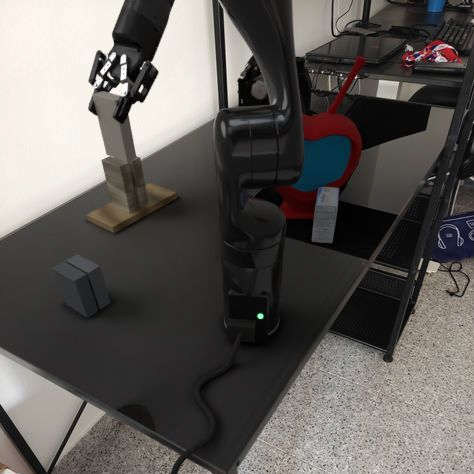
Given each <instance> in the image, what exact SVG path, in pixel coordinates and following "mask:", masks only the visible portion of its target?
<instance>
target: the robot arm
mask: <svg viewBox="0 0 474 474" xmlns="http://www.w3.org/2000/svg"><path fill="white" fill-rule="evenodd" d="M175 1H176V0H124V1H123V3H122V6H121V8H120V10H119V14H118V16H117V19H116V22H115V24H114V26H113V29H112V31H111V38H112V41H113V46H112V47H111V49H110V50H109V52H108V53H105V52H103V51H102V50H101V49H98V50H97V51H96V53H95V55H94V58H93V62H92V66H91V70H90V73H89V76H88V83H89V84H90V86H92V87H93V93H92V94H95V93H98V92H101V91H105V92H108V93H111V91H112V90H113V89H116V88H117V87H118V86H119V85H121V95H120V98H119V101H118V103H117V106H116V108H115V110H114V113H113V119H115V120H116V121H117V122H118V123H121V124H123V123H124V122H125V120H126V119H127V117H128V115H130V112H131V109H132V106H133V105H135V104H136V103H137V102H139V103H140V104H143V103H144V102H145V100H146V99H147V97H148V96H149V93H150V91H151V90H152V87H153V86H154V83H155V81H156V80H157V78H158V76H159V70H158V69H157V68H156V66H155V65H154V64H153V63H152V62H153V61H154V58H155V56H156V53H157V51H158V48H159V46H160V43H161V42H162V38H163V36H164V35H165V34H164V33H165V31H166V28H167V26H168V24H169V19H170V16H171V12H172V9H173V7H174V4H175ZM217 1H218V2H219V4H220V6H221V8H222V9H223V11H224V13H225V14H226V16H227V17H228V19H229V20H230V22H231V23H232V25H233V27H234V28H235V29H236V31H237V32H238V33H239V35H240V37H241V38H242V40H243V41H244V42H245V44H246V45H247V47H248V49H249V50H250V52H251V54H252V55H253V56H254V58H255V59H256V61H257V64H258V66H259V68H260V70H261V73H262V75H263V78H264V81H265V85H266V88H267V92H268V96H269V101H270V105H260V106H245V107H239V106H233V107H225V108H222V109H220V110H218V112H217V113H216V115H215V118H214V121H213V127H212V143H213V145H212V146H213V157H214V167H215V175H216V184H217V196H218V216H219V217H218V219H219V239H220V263H221V265H220V266H221V284H222V302H223V303H222V304H223V305H222V306H223V325H224V329H225V330H226V340H227V341H233V342H234V343H233V346H232V349H231V351H230V354H229V356H228V357H229V358H228V360H227V361H226V363H225V364H224V365H223V366H221V367H220V368H218V369H217V370H215V371H213V372H210V373H208V374H206V375H204V376H203V377H201V378H200V379H199V380H198V381H197V382H196V384H195V386H194V390H193V396H194V399H195V401H196V402H197V404H198V406H199V407H200V408H201V410H202V411H203V412H204V413H205V414H206V416H207V418H208V420H209V423H210V424H209V425H210V426H209V430H208V433H207V434H206V435H205V437H203V438H202V439H201V440H200V441H198V442H196V443H195V444H193V445H191V446H190V447H189V448H187V449H186V450H184V451H183V452H182V453H181V454H180V455H179V456H178V457H177V459H176V460H175V462H174V464H173V466H172V468H171V470H170V473H169V474H178V473H179V470H180V468H181V467H182V465H183V464H184V463H185V462H186V460H188V459H189V458H190V456H192V455H193V454H195V453H196V452H198V451H199V450H201V449H203V448H204V447H205V446H206V445H208V444H209V443H210V442H211V441H212V439H213V438H214V436H215V434H216V432H217V427H218V426H217V424H218V423H217V419H216V416H215V415H214V413H213V411H212V410H211V409H210V407H209V405H207V404H206V403H205V401H204V400H203V398H202V396H201V389H202V387H203V386H204V384H206V383H207V382H210V380H213V379H216V378H217V377H220V376H221V375H223V374H225V372H227V371H228V370H229V369H230V368H231V367H232V365H233V364H234V362H235V360H236V356H237V353H238V352H239V348H240V345H241V343H242V342H244V343H255V342H260V343H268V340H269V338H271V337H272V336H273V335H274V334H276V332H277V331H278V329H279V327H280V310H281V296H282V295H281V293H282V280H283V267H284V253H285V242H286V228H287V219H286V218H285V214H284V212H283V211H282V210H281V209H280V206H278V205H277V204H275V203H274V202H271V201H268V200H266V199H263V198H259V197H256V196H253V195H251V194H249V193H247V192H245V191H249V190H250V191H253V190H263V189H275V188H274V187H285V186H291V185H294V184H296V183H297V182H298V181H299V179H300V177H301V175H302V171H303V167H304V156H305V144H304V128H303V118H302V108H301V100H300V91H299V82H298V74H297V65H296V45H295V36H294V35H295V33H294V31H295V30H294V13H293V12H294V11H293V10H294V9H293V8H294V7H293V0H217ZM108 74H109V75H108ZM97 76H98V78H97ZM106 82H107V83H106ZM105 83H106V85H105ZM141 87H142V89H141ZM140 89H141V91H140ZM121 96H123V97H121ZM87 107H88V108H87V110H88V112H89V113H91V114H93V115H94V116H96V117H98V116H97V112H96V108H95V104H94V100H93V95H91V98H90V100H89V103H88V106H87Z"/></svg>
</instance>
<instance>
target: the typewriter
mask: <svg viewBox="0 0 474 474" xmlns="http://www.w3.org/2000/svg"><path fill="white" fill-rule="evenodd" d="M296 65H297V74H298V82H299V91H300V100H301V108H302V113H303V114H305V115H307V116H315V115H318V114H319V113H318V112H316V111H314V110H311V104H312V103H311V102H312V90H313V82H312V79H311V75H310V73H309V71H308V70H309V69H308V67H305V66H306V58H305V57H304V56H298V55H297V56H296ZM244 66H245V67H244V69H243V71H241V72H240V74H239V77H238V78H237V80H236V82H237V91H236V92H237V95H238V96H237V97H238V100H237V102H238V107H245V106H260V105H270V101H269V96H268V92H267V88H266V85H265V81H264V78H263V75H262V73H261V70H260V68H259V66H258V64H257V61H256V59H255V58H254V56H253V54H252V55H251V56H250V58H249V59H248V61H247V62H246V64H244Z"/></svg>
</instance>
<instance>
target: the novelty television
mask: <svg viewBox="0 0 474 474" xmlns="http://www.w3.org/2000/svg"><path fill="white" fill-rule="evenodd" d="M366 63H367V59H366V58H364V57H363V56H361V55H357V57H356V58H355V61H354V64H353V66H352V68H351V70H350V72H349V74H348V76H347V77H346V79H345V80H344V83H343V84H342V86H341V88H340V89H339V91H338V93H337V95H336V97H335V99H334V100H333V102H332V103H331V105H330V106H329V107H328V110H327V111H325V112H321V113H318V115H315V116H307V115H305V114H303V113H302V118H303V128H304V144H305V156H304V167H303V171H302V175H301V177H300V179H299V181H298V182H297V183H296V184H294V185H291V186H285V187H274V188H273V189H275V191H276V192H277V193H278V194H279V195H280V196H281V197H282V198H283V201H282V203H280V205H279V208H280V209H281V210H282V211H283V212H284V214H285V218H286V220H314V213H315V206H316V201H317V195H318V189H319V187H333V188H339V189H340V188H341V187H342V186H343V185H344V184H346V182H348V180H349V179H350V178H351V176H352V175H353V173H354V172H355V170H356V169H357V166H358V164H359V162H360V159H361V157H362V151H363V140H362V136H361V133H360V132H359V130H358V127H357V126H356V124H355V123H354V122H353V121H352V120H351V119H350V118H349V117H347V116H346V115H344V114H341V113H340V112H337V111H338V109H339V107H340V105H341V103H342V102H343V100H344V98H345V96H346V95H347V93H348V91H349V90H350V88H351V86H352V84H353V83H354V81H355V79H356V77H357V76H358V75H359V73H360V71H361V70H362V68H363V67H364V66H365V65H366Z"/></svg>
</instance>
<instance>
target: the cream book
mask: <svg viewBox="0 0 474 474" xmlns="http://www.w3.org/2000/svg"><path fill="white" fill-rule="evenodd" d="M92 95H93V100H94V104H95V108H96V112H97V116H96V117H97V120H98V125H99V129H100V133H101V137H102V141H103V145H104V149H105V155H107V156H108V157H109V156H111V157H113V158H117V159H120V160H122V161H125V162H129V161H131V160H133V159H136V158H137V157H138V156H137V152H136V147H135V141H134V135H133V132H132V127H131V120H130V116H129V115H130V114H128V117H127V119H126V120H125V122H124V123H123V124H121V123H118V122H117V121H116V120H115V119H113V113H114V110H115V108H116V106H117V103H118V101H119V98H120V96H121V97H123V96H122V95H119V94H116V93H112V92H109V93H108V92H105V91H101V92H98V93H95V94H93V93H92ZM92 95H91V96H92ZM136 156H137V157H136Z"/></svg>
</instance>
